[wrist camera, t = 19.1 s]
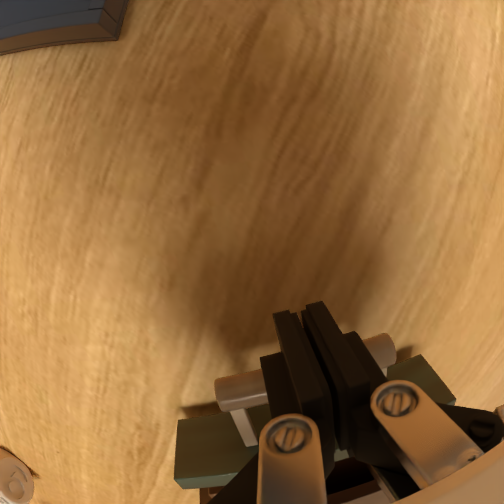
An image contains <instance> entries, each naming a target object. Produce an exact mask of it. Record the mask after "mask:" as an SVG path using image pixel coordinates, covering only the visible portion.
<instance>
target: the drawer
mask: <svg viewBox="0 0 504 504" xmlns="http://www.w3.org/2000/svg"><path fill="white" fill-rule="evenodd" d="M362 341H363V343H364V344H365V346H366V347H367V349H368V350H369V352H370V353H371V355H372V356H373V358H374V359H375V361H376V362H377V364H378V365H379V367H380V369H381V370H382V372H383V373H384V375H385V376H386V378H387V379H388V381H393V380H406V381H409V382H412V383H414V384H416V385H417V386H418V387H420V388H421V389H422V390H423V391H424V392H425V393H426V394H427V395H428V396H429V397H430V398H431V399H432V400H433V401H434V402H437V403H442V404H448V405H455V402H456V398H455V396H454V395H453V394H452V393H451V391H450V390H449V389H448V387H447V386H446V385H445V384H444V382H443V381H442V380H441V379H440V377H439V376H438V375H437V373H436V372H435V371H434V370H433V369H432V367H431V366H430V365H429V364H428V362H427V361H426V360H425V359H424V357H423V356H422V355H421V354H420V355H417V356H415V357H413V358H410V359H408V360H405V361H403V362H400V363H398V364H395V362H396V350H395V346H394V343H393V341H392V339H391V337H390V336H389V335H388V334H387V333H382V334H379V335H377V336H374V337H371V338H368V339H365V340H362ZM394 364H395V365H394ZM392 365H393V366H392ZM389 366H390V367H389ZM387 367H388V368H387ZM214 388H215V395H216V399H217V402H218V405H219V407H220V409H221V411H222V412H226V413H221V414H215V415H209V416H202V417H196V418H189V419H181V420H178V425H177V438H176V451H175V466H174V480H175V481H176V482H177V483H178V484H179V485H180V487H181V488H182V489H196V488H207V487H208V492H209V496H210V497H211V498H213V497H214V496H215V495H216V494H217V493H218V492H219V491H220V490H222V489H223V488H224V487H225V486H226V485H227V484H228V483H229V482H230V481H231V480H232V479H233V478H234V477H235V476H236V475H237V474H238V473H239V472H240V470H241V469H242V468H243V467H244V466H245V465H246V464H247V463H248V462H249V461H250V460H251V459H252V458H253V457H254V456H255V455H256V454H257V452H258V451H259V438H260V434H261V431H262V429H263V428H264V426H265V425H266V424H267V423H268V422H269V421H271V420H272V417H271V412H270V407H269V404H268V403H269V402H268V398H267V393H266V388H265V383H264V378H263V373H262V369H259V370H255V371H250V372H246V373H241V374H237V375H232V376H227V377H222V378H217V379H216V380H215V383H214ZM263 404H265V405H263ZM259 405H261V406H259ZM254 406H256V407H254ZM250 407H252V408H250ZM246 408H247V409H246ZM229 411H230V412H229ZM335 447H336V453H334V461H335V467H334V469H333V470H332V471H331V473H330V474H329V476H328V477H327V479H326V480H325V484H326V493H327V495H330V494H334V493H337V492H340V491H344V490H347V489H350V488H353V487H356V486H359V485H362V484H364V483H367V482H370V481H373V480H375V479H374V477H373V476H372V474H371V473H370V471H369V470H368V468H367V465H366V463H365V462H361V461H358V460H356V459H355V456H353V457H351V458H349V455H348V453H347V450H344V451H340V449H339V447H338V444H337V441H336V439H335Z"/></svg>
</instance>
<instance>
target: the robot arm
mask: <svg viewBox="0 0 504 504" xmlns="http://www.w3.org/2000/svg"><path fill="white" fill-rule="evenodd" d="M301 317H302V323H303V326H302V324H301V322H300V319H299V317H298V315H297V313H296V312H295V313H290V311H289V310H286V311H282V312H278V313H274V314H273V318H274V322H275V327H276V331H277V335H278V340H279V344H280V349H281V352H279V353H275V354H271V355H267V356H263V357H260V363H261V368H262V373H263V378H264V383H265V388H266V393H267V398H268V402H269V407H270V412H271V417H272V420H271V421H269V422H268V423H267V424H266V425H265V426H264V428H263V429H262V431H261V434H260V438H259V451H258V452H257V454H256V455H255V456H254V457H253V458H252V459H251V460H250V461H249V462H248V463H247V464H246V465H245V466H244V467H243V468H242V469H241V470H240V472H239V473H238V474H237V475H236V476H235V477H234V478H233V479H232V480H231V481H230V482H229V483H228V484H227V485H226V486H225V487H224V488H223V489H222V490H220V491H219V492H218V493H217V494H216V495H215V496H214V497H213V498H212V499H211V500H210V501H209V502H208V503H207V504H328V503H327V493H326V484H325V480H326V479H327V477H328V476H329V474H330V473H331V471H332V470H333V469H334V467H335V461H334V453H336V447H335V439H336V441H337V444H338V447H339V449H340V451H344V450H347V453H348V455H349V458H351V457H353V456H355V459H356V460H358V461H361V462H365V463H366V465H367V468H368V470H369V471H370V473H371V474H372V476H373V477H374V479H375V480H376V482H377V483H378V485H379V486H380V488H381V489H382V491H383V492H384V494H385V495H386V497H387V498H388V500H389V501H390V503H391V504H504V405H501V406H499V407H496V409H495V411H494V412H489V411H486V410H480V409H473V408H466V407H460V406H454V405H448V404H442V403H437V402H434V401H433V400H432V399H431V398H430V397H429V396H428V395H427V394H426V393H425V392H424V391H423V390H422V389H421V388H420V387H418V386H417V385H416V384H414V383H412V382H409V381H406V380H393V381H388V379H387V378H386V376H385V375H384V373H383V372H382V370H381V369H380V367H379V365H378V364H377V362H376V361H375V359H374V358H373V356H372V355H371V353H370V352H369V350H368V349H367V347H366V346H365V344H364V343H363V341H362V340H361V338H360V337H359V335H358V334H357V333H356V332H355V331H352V332H349V333H346V334H342V332H341V330H340V329H339V327H338V325H337V324H336V322H335V321H334V319H333V317H332V316H331V314H330V312H329V311H328V309H327V307H326V306H325V304H324V303H323V301H319V302H315V303H312V304H308V305H306V310H302V311H301Z"/></svg>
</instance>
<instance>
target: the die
mask: <svg viewBox="0 0 504 504" xmlns="http://www.w3.org/2000/svg"><path fill="white" fill-rule="evenodd" d="M33 493H34V482H33V478H32V475H31V473H30V471H29V469H28V468H27V467H26V465H25V464H24V463H22V462H21V461H20V460H19V459H18V458H16V457H15V456H13V455H12V454H10V453H9V452H7V451H5V450H4V449H2V448H0V504H28V503H29V502H30V500H31V499H32V496H33Z"/></svg>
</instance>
